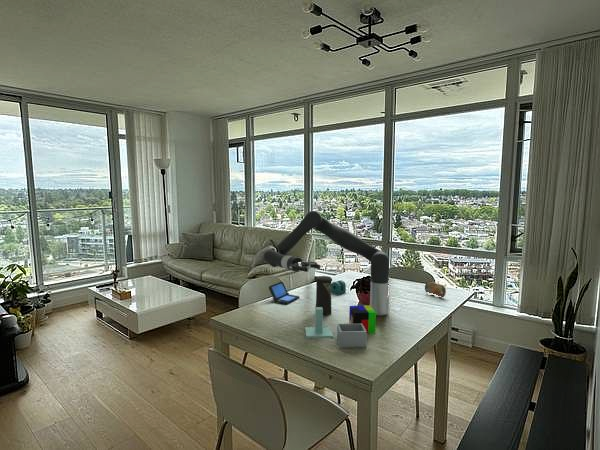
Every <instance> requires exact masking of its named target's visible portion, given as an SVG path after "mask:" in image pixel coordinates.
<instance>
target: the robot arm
mask: <svg viewBox="0 0 600 450" xmlns="http://www.w3.org/2000/svg"><path fill="white" fill-rule="evenodd" d="M311 230H315V231H317V232H319V233H322V234H323V235H325V236H327V237H328V238H329V239H330V240H331V241H333V242H334V243H335V244H336V245H338V246H340V247H341V248H343V249H344V250H347V251H348V252H351V253H354V254H356V255H359V256H361V257H362V258H364V259H366V260H368V261H369V262H370V292H369V294H370V295H369V305H370V306H371V307H372V309H373V310H374V311H375V312H376V316H385V315H389V313H390V312H389V309H390V307H389V305H390V296H388V295H389V278H390V277H389V276H390V275H389V274H390V272H389V271H390V258H389V255H388V254H387V253H386V252H385V251H382V250H381V249H378V248H376V247H374V246H372V245H370V244H369V243H367V242H365V241H364V240H363V239H361V238H360V237H359V236H357V235H356V234H354V233H353V232H351V231H349V230H347V229H345V228H343V227H341V226H339V225H336V224H333V223H332V222H330V221H329V220H327V219H326V218H324V217H323V216H322V215H321V214H320V213H319V212H318V211H316V210H311V211H308V212H307V213H306V215H305V216H304V217H303V219H302V220H301V221H300V223H299V224H298V225H297V226H296V227H295V228H294V229H292V230H291V231H290V233H289V234H287V236H285V237H284V238H283V239H282V240H281V241H280V242H279V243H278V244H277V245H276V247H277V250H278V251H275V250H273V249H268V250H266V251H265V252H264V253H263V257H262V258H263V260H264V261H265V262H266V263H267V264H268V265H269V266H271V267H272V268H277V267H278V268H283V269H284V270H289V271H292V272H295V273H298V272H306V273H308V271H309V270H310V269H316V270H321V265H320V264H318V262H316V261H311V260H308V261H306V260H302V258H301V257H298V256H295V255H287V254H288V253H289V252H290V251H291V250H292V249H294V247H295V246H296V245H297V244H298V243H299V242H300V241H301V239H302V238H303V237H304V236H305V235H306V234H307V233H309V231H311Z"/></svg>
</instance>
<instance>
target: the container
mask: <svg viewBox="0 0 600 450" xmlns="http://www.w3.org/2000/svg"><path fill="white" fill-rule="evenodd" d="M314 281H316V283H315V284H316V290H315V291H316V292H315V294H316V295H315V307H322V308H323V317H324V316H325V317H327V316H330V315H331V314H332V293H331V284H332V283H333V278H332V277H331V276H327V275H320V276H319V275H318V276H317V277H315V279H314Z"/></svg>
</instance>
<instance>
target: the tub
mask: <svg viewBox="0 0 600 450" xmlns="http://www.w3.org/2000/svg"><path fill="white" fill-rule="evenodd" d="M336 325H337V327H336V340H337V342H338V343H337V344H338V346H339V348H340V349H366V348H367V340H368V339H367V337H368V335H367V331H366V330H365V328H364V326H363V324H362V323H361V324H349V323H336Z"/></svg>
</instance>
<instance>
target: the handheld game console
mask: <svg viewBox="0 0 600 450" xmlns="http://www.w3.org/2000/svg"><path fill="white" fill-rule="evenodd" d="M268 290H269V291H270V294H271V297H272V299H273V303H276V304H281V305H289V304H292V303H293V302H295V301H297V300H299V299H300V296H299V295H294V294H290V293H289V292H288V290H287V288H286V286H285V283H284V282H283V281H279V282H277V283H274V284H272V285H269V286H268Z"/></svg>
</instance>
